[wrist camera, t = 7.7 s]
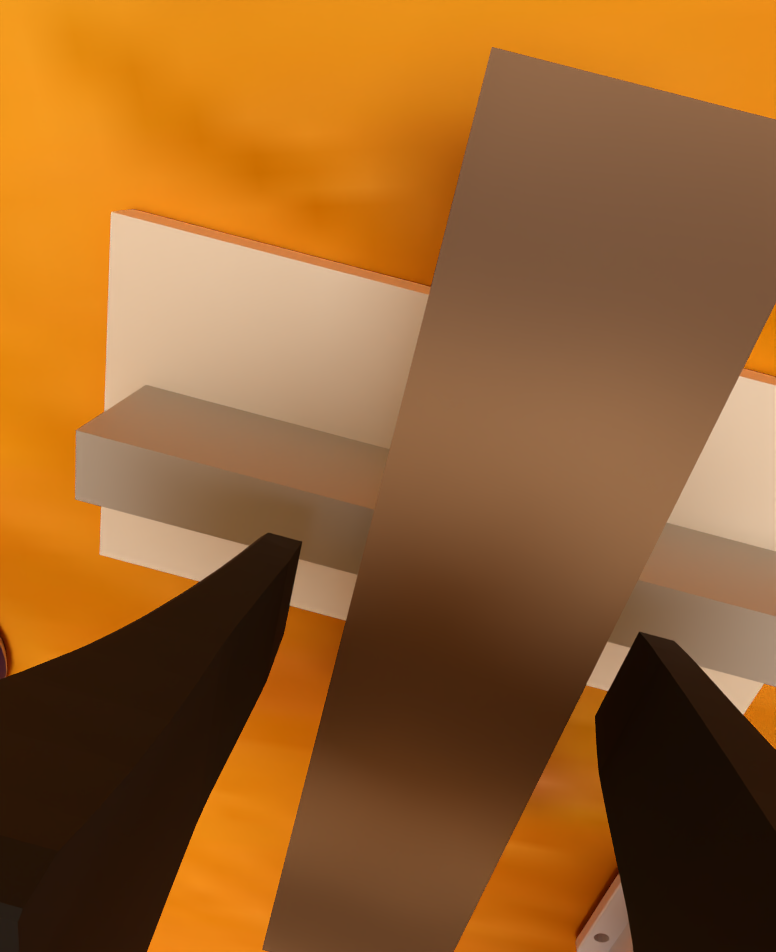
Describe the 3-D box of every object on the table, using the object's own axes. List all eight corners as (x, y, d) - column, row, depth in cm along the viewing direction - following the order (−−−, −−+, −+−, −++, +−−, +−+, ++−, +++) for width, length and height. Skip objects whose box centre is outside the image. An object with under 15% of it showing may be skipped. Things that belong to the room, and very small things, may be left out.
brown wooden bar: (487, 88, 9) (491, 47, 6) (727, 149, 9) (856, 140, 6) (304, 797, 17) (262, 949, 13) (440, 834, 17) (431, 996, 13)
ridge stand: (723, 698, 19) (782, 825, 15) (117, 536, 19) (32, 623, 15) (905, 410, 15) (1046, 490, 11) (133, 209, 15) (22, 222, 11)
